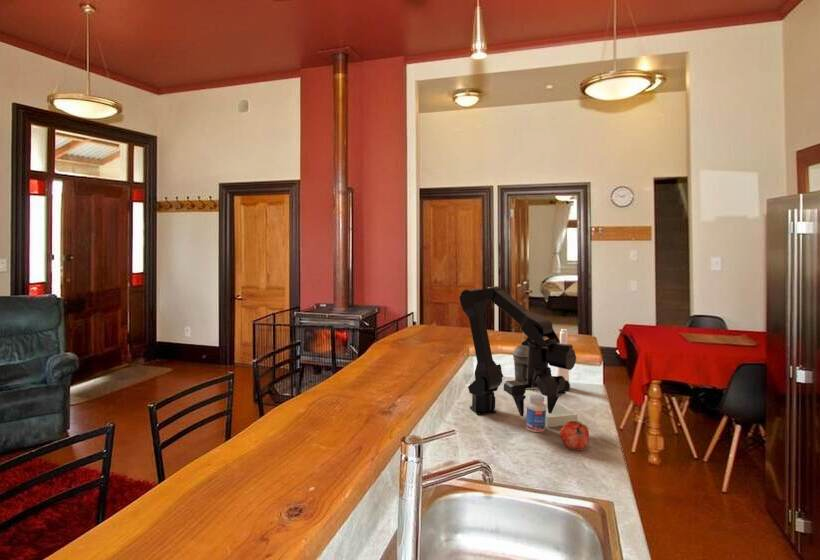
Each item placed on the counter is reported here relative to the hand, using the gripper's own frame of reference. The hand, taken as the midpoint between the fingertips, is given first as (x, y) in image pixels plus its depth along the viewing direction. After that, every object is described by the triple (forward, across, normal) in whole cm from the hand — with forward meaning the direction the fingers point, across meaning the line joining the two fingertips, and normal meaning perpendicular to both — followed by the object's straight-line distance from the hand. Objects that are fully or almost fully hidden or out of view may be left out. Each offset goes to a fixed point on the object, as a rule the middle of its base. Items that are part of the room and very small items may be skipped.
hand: (535, 414), depth 143 cm
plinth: (+4, +9, +5) cm, 11 cm away
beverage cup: (+4, +16, +37) cm, 41 cm away
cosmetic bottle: (+4, +29, +31) cm, 43 cm away
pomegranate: (+4, +4, -14) cm, 15 cm away
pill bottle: (+4, 0, 0) cm, 5 cm away
